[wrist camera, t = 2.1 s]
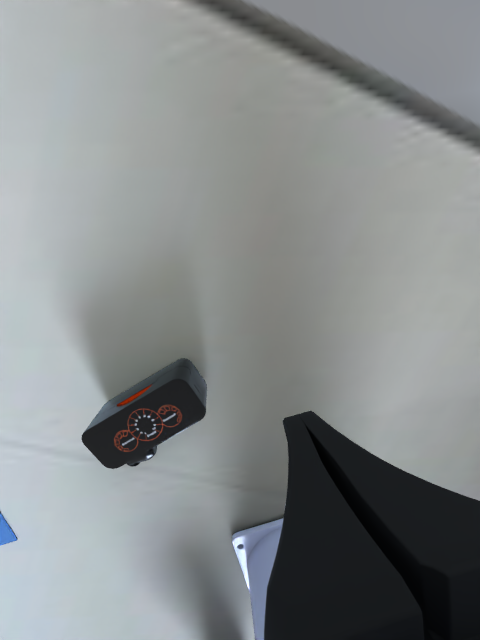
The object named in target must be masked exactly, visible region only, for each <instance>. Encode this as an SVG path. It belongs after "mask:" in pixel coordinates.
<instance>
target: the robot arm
mask: <svg viewBox="0 0 480 640" xmlns="http://www.w3.org/2000/svg"><path fill="white" fill-rule="evenodd" d="M283 425H284V429H285V433H286V437H287V442H288V456H289V463H288V488H287V498H286V505H285V513H284V518H282V519H279V520H276V521H272V522H269V523H266V524H262V525H259V526H256V527H253V528H249V529H246V530H243V531H240V532H236V533H235V534H234V535H233V536H232V543H233V546H234V549H235V552H236V555H237V558H238V560H239V563H240V566H241V569H242V572H243V575H244V577H245V580H246V583H247V586H248V589H249V592H250V597H251V606H252V615H253V624H254V633H255V640H480V501H478V500H475V499H472V498H469V497H466V496H463V495H461V494H458V493H455V492H453V491H450V490H447V489H445V488H442V487H439V486H437V485H435V484H432V483H430V482H427V481H425V480H423V479H421V478H418V477H416V476H414V475H412V474H409V473H407V472H405V471H403V470H401V469H399V468H397V467H395V466H393V465H391V464H389V463H387V462H385V461H384V460H382V459H380V458H378V457H376V456H375V455H373V454H371V453H370V452H368V451H366V450H365V449H363V448H362V447H360V446H358V445H357V444H355V443H354V442H352V441H351V440H349V439H348V438H347V437H345V436H344V435H342V434H341V433H340V432H338V431H337V430H335V429H334V428H333V427H331V426H330V425H329V424H328V423H326V422H325V421H324V420H322V419H321V418H320V417H319V416H318V415H316V414H315V413H314V412H312V411H308V412H304V413H301V414H297V415H294V416H290V417H287V418H284V420H283Z"/></svg>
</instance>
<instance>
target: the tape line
mask: <svg viewBox="0 0 480 640" xmlns="http://www.w3.org/2000/svg"><path fill="white" fill-rule="evenodd" d="M16 540H17V538H16V536H15V535H14V533H13V532H12V530H11V528H10V527H9V525H8V524H7V522H6V521H5V519H4V518H3V516H2V515H1V513H0V545H3V544H6V543H10V542H13V541H16Z"/></svg>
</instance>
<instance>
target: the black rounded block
mask: <svg viewBox="0 0 480 640" xmlns="http://www.w3.org/2000/svg"><path fill="white" fill-rule="evenodd" d="M206 398H207V384H206V382H205V380H204V379H203V377H202V376H201V375H200V373H199V372H198V370H197V369H196V367H195V366H194V364H193V363H192V362H191V361H190V360H188V359H185V358H181V359H179V360H177V361H175V362H174V363H172V364H170V365H169V366H167V367H165V368H163V369H162V370H160V371H158V372H157V373H155V374H153V375H152V376H150V377H148V378H147V379H145V380H143V381H141V382H140V383H138V384H136V385H135V386H133V387H131V388H130V389H128V390H126V391H125V392H123V393H121V394H119V395H118V396H116V397H114V398H113V399H111V400H109V401H108V402H107V403H106V404H104V406H103V407H102V408H101V410H100V411H99V413H98V414H97V415H96V417H95V418H94V419H93V421H92V422H91V423H90V425H89V426H88V428H87V429H86V430H85V432H84V433H83V435H82V442H83V443H84V445H85V446H86V447H87V448H88V449H89V450H90V451H91V452H92V453H93V455H94V456H95V457H96V458H97V459H98V460H99V461H100V462H101V463H102V464H103V465H104V466H105V467H107V468H112V469H114V468H118V467H121V466H122V465H124V464H126V463H127V464H128V465H130V466H137V465H138V464H139V463H140V462H142V461H146V460H149V459H151V458H152V457H153V456H154V455H155V453H156V450H157V445H159V444H160V443H162V442H164V441H165V440H167V439H169V438H171V437H172V436H174V435H176V434H178V433H179V432H181V431H183V430H184V429H186V428H188V427H190V426H191V425H193V424H195V423H196V422H198V421H200V420H201V419H203V417H204V416H205V413H206Z"/></svg>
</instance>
